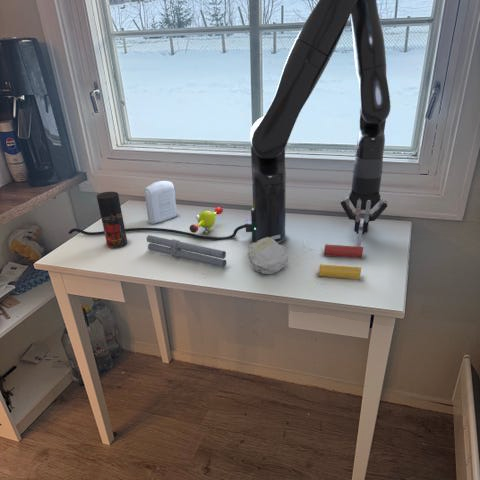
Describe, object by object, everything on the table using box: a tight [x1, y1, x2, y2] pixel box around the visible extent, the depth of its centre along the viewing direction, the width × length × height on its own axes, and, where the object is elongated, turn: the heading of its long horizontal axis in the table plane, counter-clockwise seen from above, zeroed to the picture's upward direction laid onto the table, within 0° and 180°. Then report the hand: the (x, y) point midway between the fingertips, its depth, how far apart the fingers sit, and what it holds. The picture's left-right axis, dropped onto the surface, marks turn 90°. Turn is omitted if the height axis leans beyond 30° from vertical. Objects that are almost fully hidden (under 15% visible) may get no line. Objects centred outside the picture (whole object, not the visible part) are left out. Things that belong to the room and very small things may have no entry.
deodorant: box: [96, 191, 128, 249], centre depth 135 cm, size 6×6×15 cm
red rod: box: [323, 243, 364, 259], centre depth 126 cm, size 10×3×3 cm, turn 75°
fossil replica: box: [247, 237, 290, 275], centre depth 120 cm, size 12×8×10 cm
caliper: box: [356, 218, 365, 247], centre depth 135 cm, size 20×1×6 cm, turn 165°
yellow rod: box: [318, 263, 362, 281], centre depth 116 cm, size 10×3×3 cm, turn 75°
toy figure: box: [189, 206, 224, 234], centre depth 142 cm, size 18×6×7 cm, turn 154°
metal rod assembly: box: [146, 234, 227, 268], centre depth 128 cm, size 26×3×5 cm, turn 60°
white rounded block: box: [143, 180, 178, 225], centre depth 152 cm, size 10×4×12 cm, turn 134°
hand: (360, 233), depth 136 cm, fingers closed on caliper, 1 cm apart
